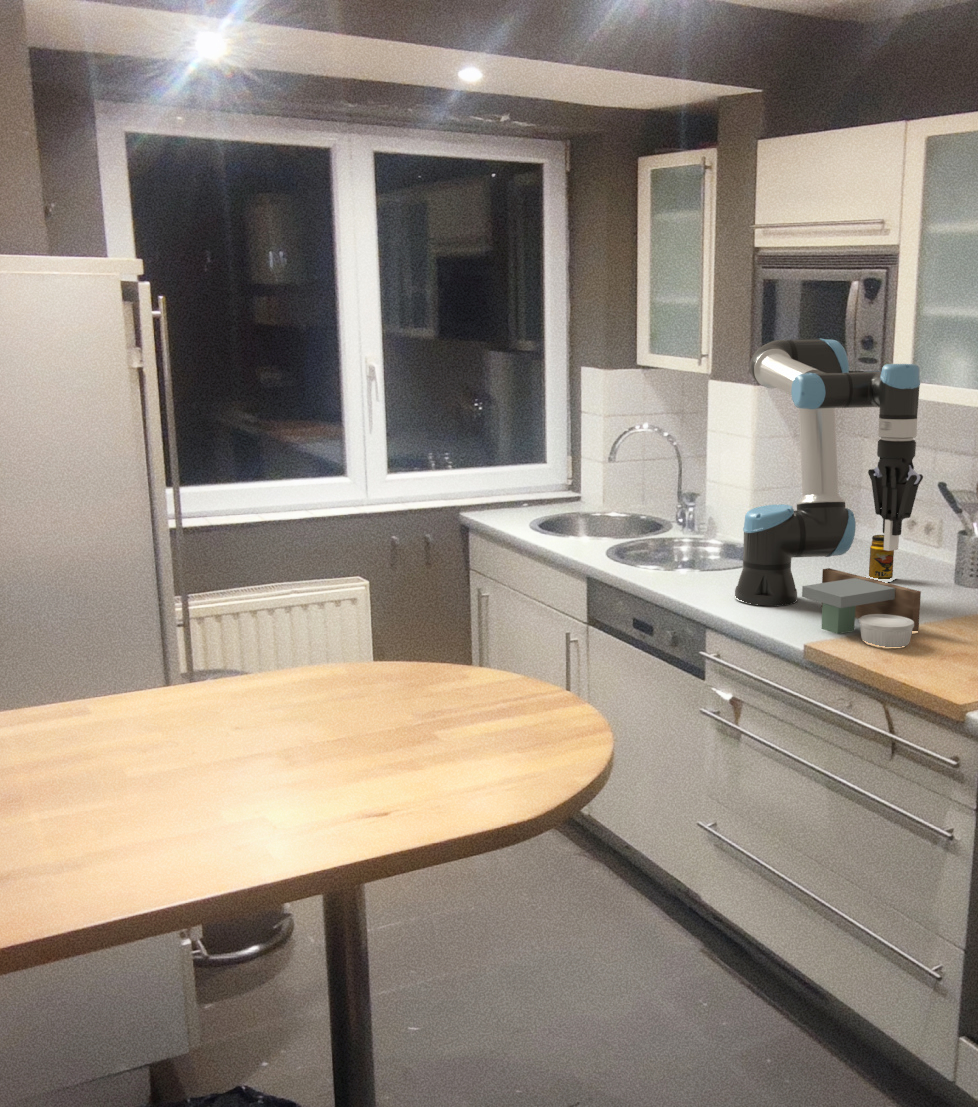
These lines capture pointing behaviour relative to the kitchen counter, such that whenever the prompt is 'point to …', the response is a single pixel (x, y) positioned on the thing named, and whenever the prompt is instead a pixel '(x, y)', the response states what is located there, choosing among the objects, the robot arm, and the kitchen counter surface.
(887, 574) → the condiment
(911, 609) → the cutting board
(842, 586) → the lid
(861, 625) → the ramekin
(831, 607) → the block
